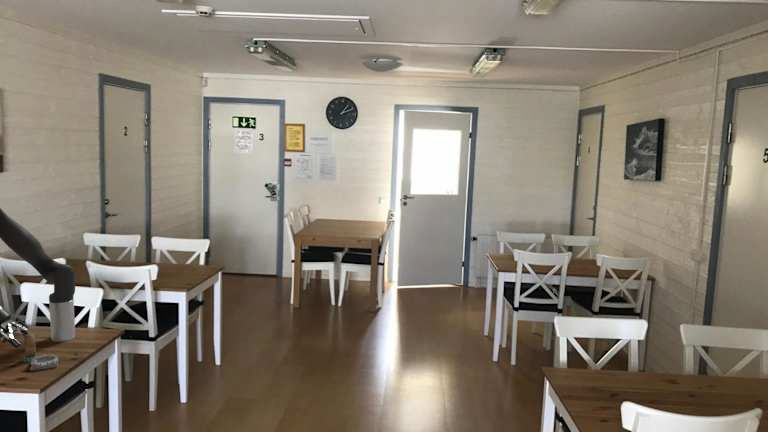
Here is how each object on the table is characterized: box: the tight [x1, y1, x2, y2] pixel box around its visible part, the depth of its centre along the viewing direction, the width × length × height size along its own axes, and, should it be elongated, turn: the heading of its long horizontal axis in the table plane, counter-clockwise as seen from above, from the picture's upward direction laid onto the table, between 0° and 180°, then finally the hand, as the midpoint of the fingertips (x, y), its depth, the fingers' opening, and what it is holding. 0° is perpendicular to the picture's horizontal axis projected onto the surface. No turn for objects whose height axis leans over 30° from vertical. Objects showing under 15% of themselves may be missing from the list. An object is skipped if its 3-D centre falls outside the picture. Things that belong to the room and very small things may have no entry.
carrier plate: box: [29, 354, 59, 372], centre depth 219 cm, size 9×9×2 cm
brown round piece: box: [21, 333, 40, 363], centre depth 224 cm, size 6×6×10 cm
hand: (25, 342), depth 223 cm, fingers open, 8 cm apart
